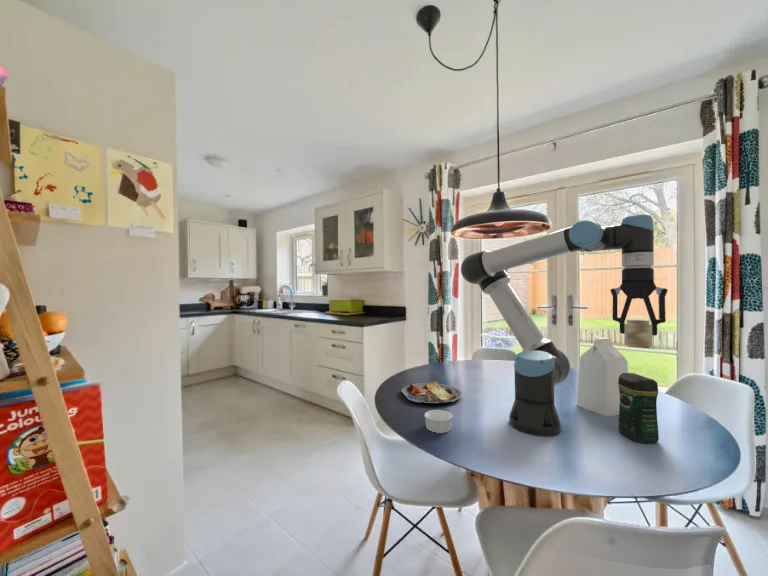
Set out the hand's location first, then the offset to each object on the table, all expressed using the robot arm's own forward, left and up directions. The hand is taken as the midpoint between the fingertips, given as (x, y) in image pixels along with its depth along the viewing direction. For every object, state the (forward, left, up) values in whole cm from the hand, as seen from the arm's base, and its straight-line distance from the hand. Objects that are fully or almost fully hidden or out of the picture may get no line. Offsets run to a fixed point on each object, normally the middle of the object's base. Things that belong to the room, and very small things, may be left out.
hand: (637, 345), depth 96 cm
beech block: (0, 0, 0) cm, 0 cm away
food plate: (-68, -2, -28) cm, 74 cm away
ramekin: (-52, -28, -28) cm, 65 cm away
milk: (-9, +21, -28) cm, 36 cm away
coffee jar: (0, 0, -28) cm, 28 cm away
